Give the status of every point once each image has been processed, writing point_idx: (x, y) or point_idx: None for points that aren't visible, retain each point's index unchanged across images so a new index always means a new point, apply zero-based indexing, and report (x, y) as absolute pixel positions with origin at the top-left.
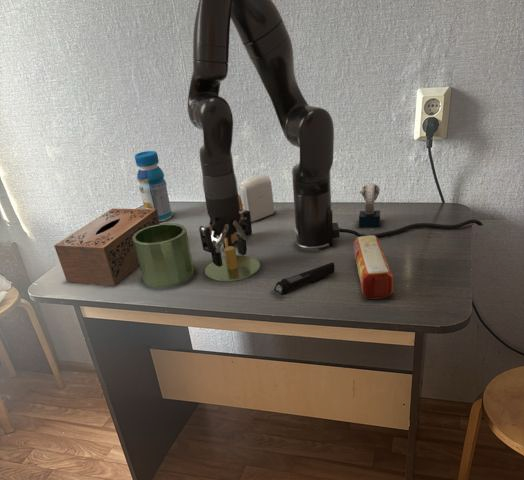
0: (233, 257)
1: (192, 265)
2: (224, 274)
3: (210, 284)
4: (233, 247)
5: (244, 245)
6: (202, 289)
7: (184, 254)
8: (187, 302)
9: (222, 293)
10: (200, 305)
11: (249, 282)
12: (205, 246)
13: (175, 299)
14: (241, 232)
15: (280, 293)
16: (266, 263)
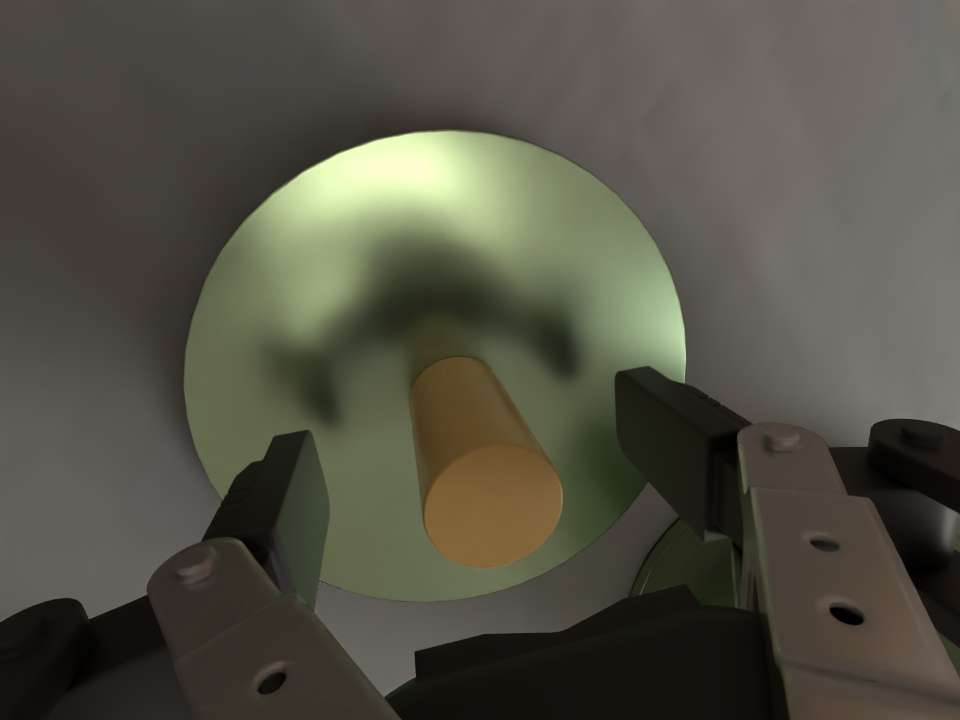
0: (478, 400)
1: (704, 583)
2: (584, 332)
3: (696, 322)
4: (443, 498)
5: (262, 490)
6: (777, 296)
7: (938, 635)
8: (954, 202)
9: (744, 107)
10: (951, 77)
11: (475, 84)
12: (948, 562)
13: (953, 306)
14: (255, 629)
15: None
16: (115, 303)
